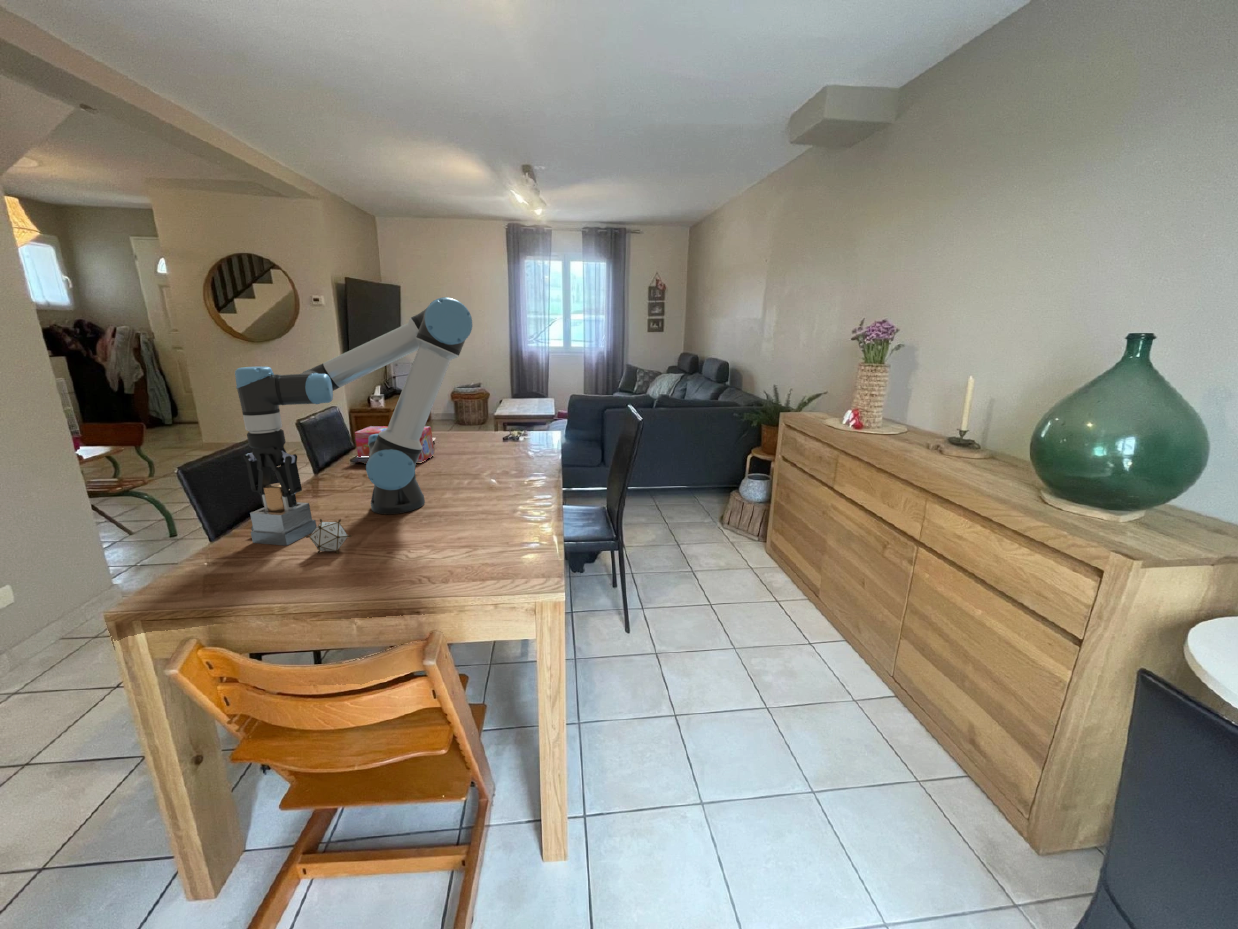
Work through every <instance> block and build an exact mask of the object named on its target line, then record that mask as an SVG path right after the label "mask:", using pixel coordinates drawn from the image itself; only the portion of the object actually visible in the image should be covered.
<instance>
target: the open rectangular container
mask: <svg viewBox="0 0 1238 929" xmlns="http://www.w3.org/2000/svg"><path fill="white" fill-rule="evenodd" d="M311 511H312V510H311V506H310V502H299V501H297V506H296V507H294V508H292V509H289V510H287V511H285V512H282V513H272V512H265V507H261V508H259V509H257V510H255V511H251V512H249V514H250V519H251V524H252V526H251V529H250V530H251V531H250V536H251V539H252V541H251V542H252V543H253V544H261V545H262V544H263V545H275V546H276V545H277V546H289V545H291V544H293V543H295V542H297V541H299V540H302V539H304V538H306V537H305V536H310V535H311V534H312V532H313V531H314V530H315V529H316V528H317V526H318V525H317V522H316V519H313V517H312V513H311Z"/></svg>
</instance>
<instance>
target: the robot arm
mask: <svg viewBox="0 0 1238 929" xmlns="http://www.w3.org/2000/svg"><path fill="white" fill-rule="evenodd" d="M472 330H473V318H472V315H471V313H470V311H469V309H468V308H467V306H465V304H463V303H462V302H461V301H459V300H457V299H454V298H452V297H448V296H447V297H445V296H444V297H443V296H442V297H439V298H436V299H435V300H432V301H431V302H430V304H429V305H428V306H427V307H426V308H424V309H423V310H422V311H421V312H419V313H417V314H415V315H414V316H411V317H409V319H408V322H407V323H405V324H403V325H401V326H398V327H397V328H395V329H393V330H390V331H388V332H386V333H384V334H382V335H380V336H377V337H376V338H373V339H371V340H369V341H366V342H365V343H362V344H361V345H358V346H356V347H354V348H351V350H348V351H345V352H343V353H342V354H339V355H337V356H335V357H333V358H331V359H328V360H326V361H325V362H323V363H321V364H318V365H316V366H314V367H312V368H309V369H307V370H304V371H303V372H300V373H296V374H295V373H293V374H277V373H276V374H275V373H274V372H273V369H272V367H270V366H246V367H245V366H243V367H238V368H236V370H235V371H234V376H235V384H236V386H235V388H236V391H237V394H238V398H239V403H240V408H241V412H242V418H243V423H244V429H245V431H246V432H247V431H248V432H247V433H246V437H247V442H248V446H249V448H251V449H252V451H251V452H250V453H245V454H243V456H242V457H243V459H244V462H245V464H246V469H247V473H248V479H249V483H250V484H249V485H250V489H251V491H252V492H254V493H255V492H256V493H258V495H260V500H261V504H262V506H264V507H265V512H268V508H267V503H266V498H265V493H264V488H263V487H265V486H267V485H270V484H271V477H272V475H271V474H272V472H274V474H275V476H276V478H277V480H278V483H280V485H281V487H282V490H283V492H284V495H282V499H283V504H284V509H285V511H287V510H289V509H292V508H294V507H296V506H297V502H298V501H297V497H296V494H297V493H299V492H302V490H303V488H302V484H301V478H300V473H299V468H298V455H297V454H296V453H295V454H294V453H293V454H290V453H288V452H287V450H286V449H285V444H286V438H285V432H284V430H283V429H281V428H282V427H283V421H282V416H281V410H280V406H288V405H290V406H291V405H294V406H295V405H296V406H297V405H320V404H328V403H331V402H332V401H333V399H334V391H336V390H338V389H339V388H342V387H344V386H346V385H348V384H351V382H354V381H357V380H358V379H361V378H363V377H364V376H367V375H370V374H371V373H374V372H375V371H376V370H379V369H382V368H383V367H385V366H388V365H390V364H391V363H394V362H396V361H398V360H400V359H403V358H404V357H406V356H409V355H411V354H413V353H414V352H416V354H415V357H414V358H413V361H412V363H411V367H410V370H409V372H408V375H407V377H406V378H405V381H404V385H403V387H402V389H401V392H400V395H399V398H398V401H397V403H396V405H395V408H394V410H393V413H392V415H391V418H390V420H389V423H388V428H387V429H386V430H384V431H382V432H379V434H373V435H370V436H369V437H368V445H369V449H370V456H369V459H368V461H367V463H365V464H366V465H365V471H366V475H367V477H368V479H369V481H370V482H371V483H372V484H373V489H372V494H371V500H370V508H371V511H372V513H373V512H374V514H379V515H396V514H397V515H398V514H403V513H408V512H412V511H414V510H417V509H419V508H421V507H423V506H424V505H425V504H426V502H425V495H424V493H423V490H422V489H421V487H420V484H419V483H418V481H417V477H416V466H417V464H416V463H417V460H418V458H419V455H420V453H421V450H422V445H421V443H420V441H419V439H420V437H421V434H422V432H423V429H424V427H425V426H426V424H427V421H428V419H429V417H430V414H431V411H432V409H433V406H434V404H435V401H436V399H437V397H438V393H440V392H439V391H440V389H441V387H442V384H443V381H444V379H445V376H446V373H447V371H448V369H449V366H450V363H451V361H452V360H454V359H457V358H459V357H460V355H461V352H462V349H463V347H464V344H465V342H466V340H467V339H468V338H469V336H470V335H471V334H472ZM264 507H263V508H264Z"/></svg>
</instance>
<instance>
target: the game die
mask: <svg viewBox="0 0 1238 929" xmlns="http://www.w3.org/2000/svg"><path fill="white" fill-rule="evenodd" d="M341 521H342V519H341V518H340V519H338V521H323V519H322V518H319V524H318V525H316V526H317V528H316V529H315V530H314V531H313V532H312V533H311V534H309V535H307V536H305V537H304V538H306V539H308V538H309V539H310V541H311V542H312V543H313V545H314V546H315V548H316V549H317V550H318V551H317V552H316V554H317V555H318V554H320V553H321V552H335V553H336V554H337V555H339V554H340V552H339V550H340V548H341V547H342V546H343V544H344V543H345V542H346V540H348V538H351V537H353V535H351V534H349V535H348V533H347V531H346V530H345V528H344V527H343V525H342V524H341Z"/></svg>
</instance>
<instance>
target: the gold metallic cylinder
mask: <svg viewBox="0 0 1238 929" xmlns="http://www.w3.org/2000/svg"><path fill="white" fill-rule="evenodd" d="M263 488H264V493H265V498H266V503H267V508H268V512H272V513H282V512H285V509H284V504H283V499H282V495H284V492H283V490H282V487H281V485H280V483H279V482H277V483H270V485H267V486H265V487H263Z"/></svg>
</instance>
